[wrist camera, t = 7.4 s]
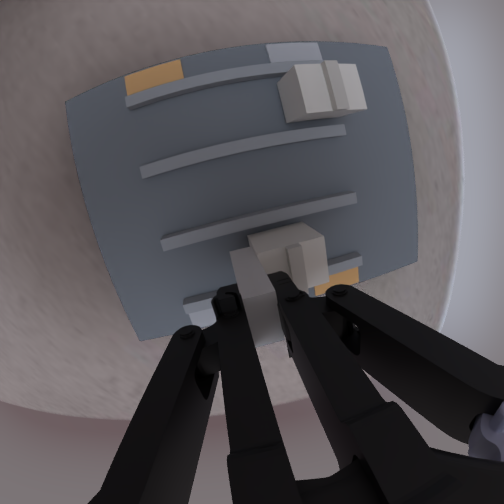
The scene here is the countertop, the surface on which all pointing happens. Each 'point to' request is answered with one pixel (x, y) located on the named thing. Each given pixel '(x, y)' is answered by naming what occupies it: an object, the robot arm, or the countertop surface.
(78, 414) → the countertop surface
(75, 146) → the switch board
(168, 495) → the robot arm
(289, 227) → the tab
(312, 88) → the tab
